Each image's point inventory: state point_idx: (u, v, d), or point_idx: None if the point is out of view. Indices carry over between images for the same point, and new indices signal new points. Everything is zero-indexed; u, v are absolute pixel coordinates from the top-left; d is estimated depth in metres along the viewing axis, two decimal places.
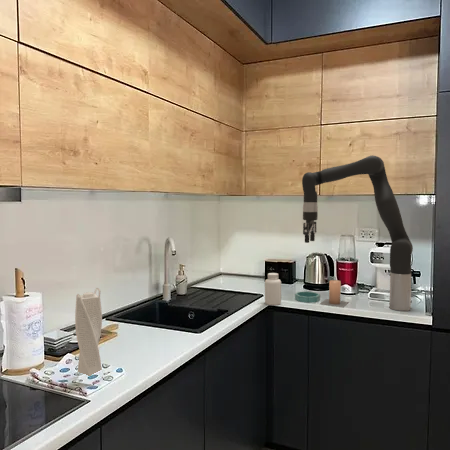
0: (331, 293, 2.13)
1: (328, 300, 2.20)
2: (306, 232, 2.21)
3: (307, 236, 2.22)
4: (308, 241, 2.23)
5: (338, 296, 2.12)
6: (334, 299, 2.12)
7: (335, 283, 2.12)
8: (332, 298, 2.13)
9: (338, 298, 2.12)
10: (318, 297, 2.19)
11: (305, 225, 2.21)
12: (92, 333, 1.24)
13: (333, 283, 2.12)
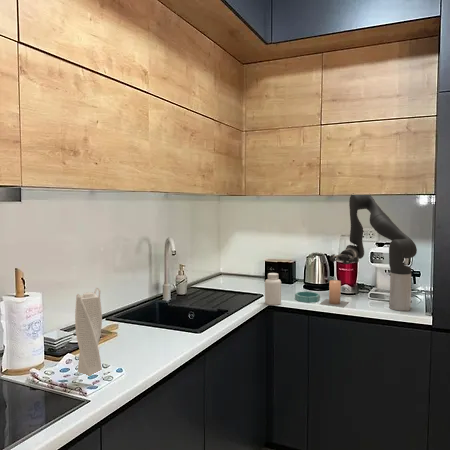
0: (331, 293, 2.13)
1: (328, 300, 2.20)
2: None
3: (332, 257, 2.28)
4: (332, 258, 2.25)
5: (338, 296, 2.12)
6: (334, 299, 2.12)
7: (335, 283, 2.12)
8: (332, 298, 2.13)
9: (338, 298, 2.12)
10: (318, 297, 2.19)
11: None
12: (92, 333, 1.24)
13: (333, 283, 2.12)
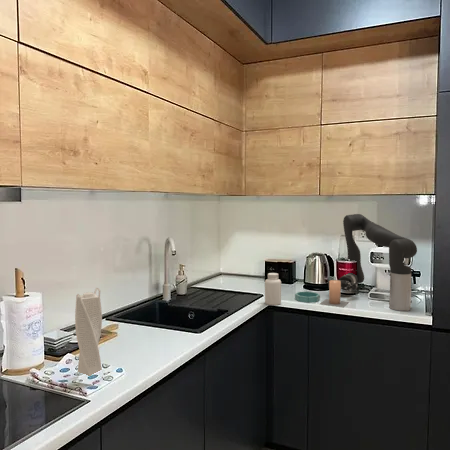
0: (331, 293, 2.13)
1: (328, 300, 2.20)
2: (328, 283, 2.29)
3: None
4: None
5: (338, 296, 2.12)
6: (334, 299, 2.12)
7: (335, 283, 2.12)
8: (332, 298, 2.13)
9: (338, 298, 2.12)
10: (318, 297, 2.19)
11: None
12: (92, 333, 1.24)
13: (333, 283, 2.12)
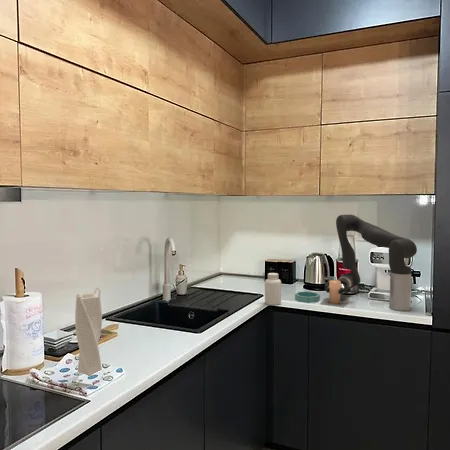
0: (331, 293, 2.13)
1: (328, 300, 2.20)
2: None
3: (327, 287, 2.17)
4: (327, 288, 2.14)
5: (338, 296, 2.12)
6: (334, 299, 2.12)
7: (335, 283, 2.12)
8: (332, 298, 2.13)
9: (338, 298, 2.12)
10: (318, 297, 2.19)
11: None
12: (92, 333, 1.24)
13: (333, 283, 2.12)
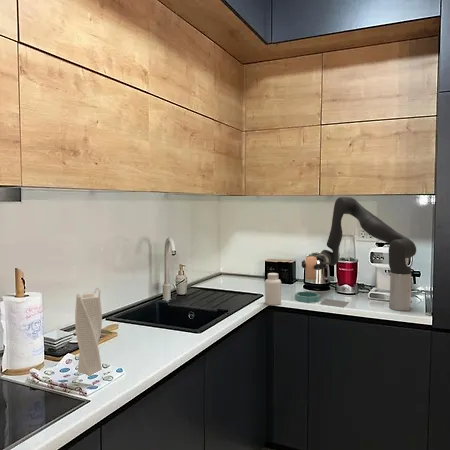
0: (307, 268, 2.19)
1: (328, 300, 2.20)
2: None
3: (303, 263, 2.23)
4: (303, 264, 2.20)
5: (313, 271, 2.18)
6: (309, 275, 2.18)
7: (310, 258, 2.17)
8: (308, 273, 2.18)
9: (314, 273, 2.18)
10: (318, 297, 2.19)
11: None
12: (92, 333, 1.24)
13: (309, 259, 2.18)
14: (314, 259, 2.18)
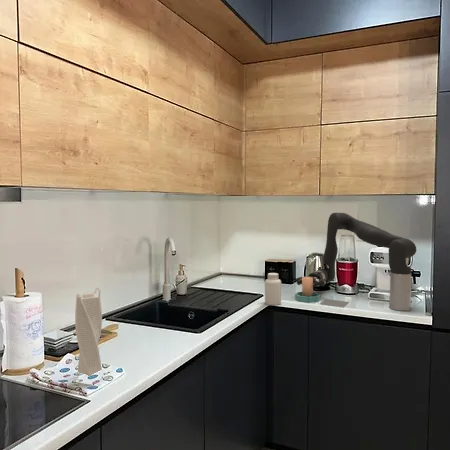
0: (304, 289, 2.20)
1: (328, 300, 2.20)
2: (297, 279, 2.28)
3: None
4: (298, 280, 2.22)
5: (310, 292, 2.19)
6: (306, 295, 2.19)
7: (307, 279, 2.19)
8: (305, 293, 2.20)
9: (310, 294, 2.19)
10: (318, 297, 2.19)
11: None
12: (92, 333, 1.24)
13: (305, 279, 2.19)
14: (310, 280, 2.19)
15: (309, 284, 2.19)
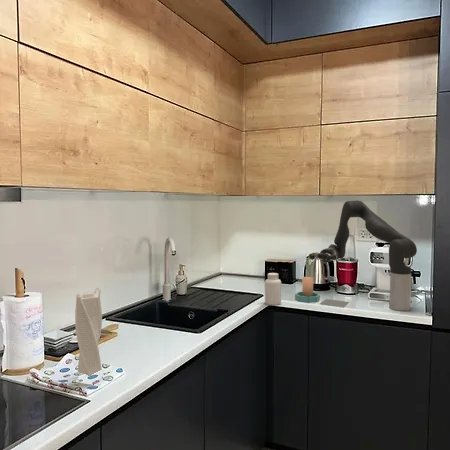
0: (304, 289, 2.20)
1: (328, 300, 2.20)
2: None
3: (311, 255, 2.36)
4: (311, 255, 2.33)
5: (310, 292, 2.19)
6: (306, 296, 2.19)
7: (307, 279, 2.19)
8: (305, 294, 2.20)
9: (310, 294, 2.19)
10: (318, 297, 2.19)
11: None
12: (92, 333, 1.24)
13: (305, 280, 2.19)
14: (311, 280, 2.19)
15: (309, 284, 2.19)
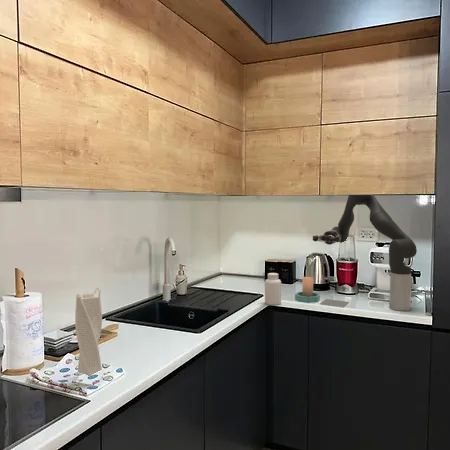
0: (304, 289, 2.20)
1: (328, 300, 2.20)
2: (313, 237, 2.38)
3: None
4: None
5: (310, 292, 2.19)
6: (306, 296, 2.19)
7: (307, 279, 2.18)
8: (305, 294, 2.20)
9: (310, 294, 2.19)
10: (318, 297, 2.19)
11: None
12: (92, 333, 1.24)
13: (305, 280, 2.19)
14: (311, 280, 2.19)
15: (309, 284, 2.19)
